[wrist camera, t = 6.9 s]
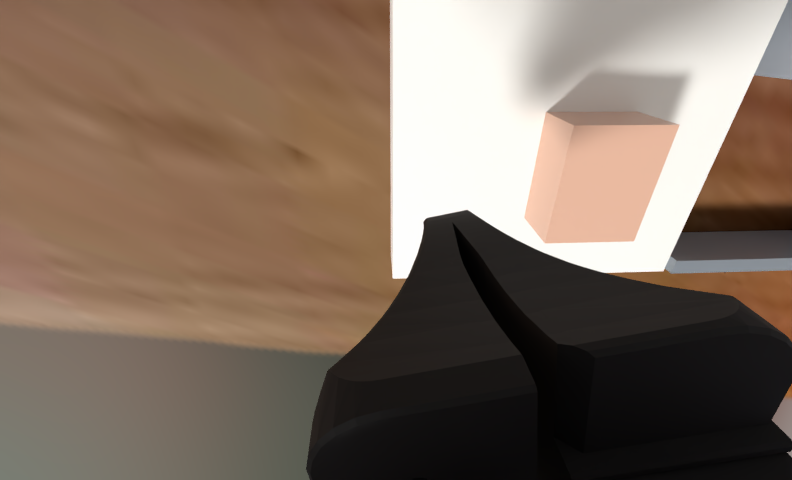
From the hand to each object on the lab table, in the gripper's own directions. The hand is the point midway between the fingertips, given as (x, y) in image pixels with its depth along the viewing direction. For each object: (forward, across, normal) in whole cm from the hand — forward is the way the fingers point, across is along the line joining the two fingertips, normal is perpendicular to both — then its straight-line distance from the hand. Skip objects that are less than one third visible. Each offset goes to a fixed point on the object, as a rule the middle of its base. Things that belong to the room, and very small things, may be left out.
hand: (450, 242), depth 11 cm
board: (+9, -6, -2) cm, 11 cm away
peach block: (+6, -7, +1) cm, 10 cm away
